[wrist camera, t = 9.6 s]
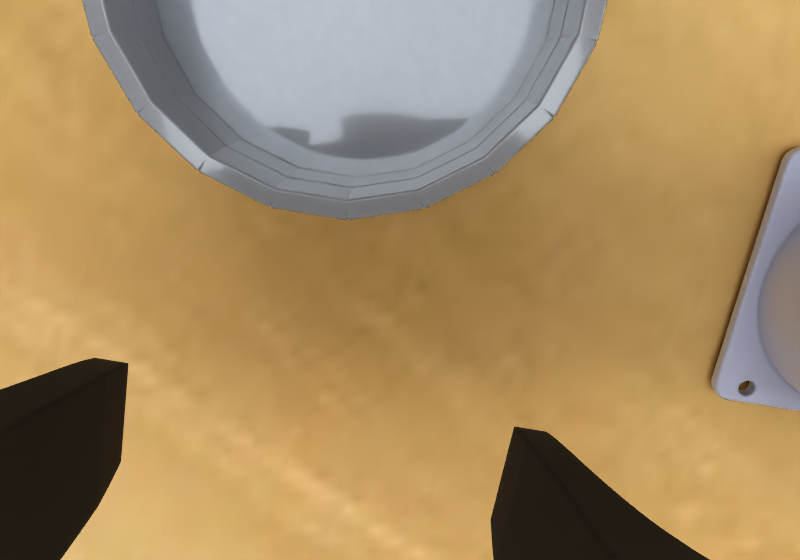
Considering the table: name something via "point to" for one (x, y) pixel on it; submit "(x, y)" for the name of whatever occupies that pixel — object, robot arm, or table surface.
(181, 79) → the grey cake pan
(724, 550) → the table surface
